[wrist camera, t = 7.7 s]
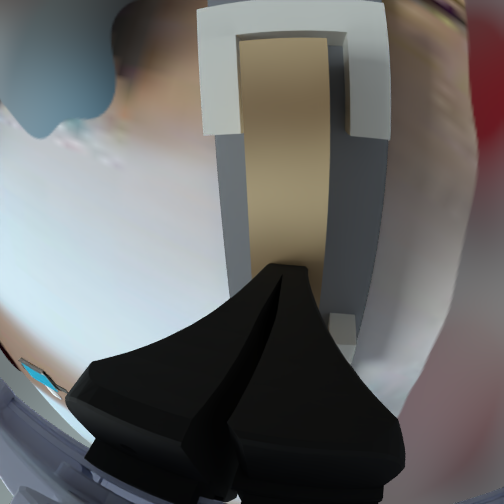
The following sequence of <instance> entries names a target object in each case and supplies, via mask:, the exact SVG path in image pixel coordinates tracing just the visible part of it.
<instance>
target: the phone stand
mask: <svg viewBox="0 0 504 504" xmlns="http://www.w3.org/2000/svg"><path fill="white" fill-rule="evenodd" d="M18 361H20V362H21V363H22V364H23V365H22V364H21V365H22V366H23V368H24V367H25V368H24V369H26V370H27V371H28V372H29V374H30V375H31V376H32V377H33V378H35V379H36V380H38V381H39V382H41V383H43V384H44V385H45V386H46V387H47V388H48V389H49V390H50V392H51V393H52V394H53V395H54V396H56V397H58V398H59V399H61V400H62V398H61V397H60V396H59V395H58V394H57V393H56V392H58V390H57V389H59V390H61V391H63V392H65V393H67V392H66V390H65V389H63V388H61V387H59V386H58V385H56V384H55V383H54V382H53V381H52V380H51V379H50V378H49V377H48V378H47V377H46V375H47V374H46V375H44V374H43V370H42V369H40V368H38V367H36V366H35V365H33V364H31V363H30V362H28V361H26V360H25V359H23V358H20V359H19V360H18ZM47 376H48V375H47ZM55 387H56V388H57V389H56V388H55ZM67 394H68V393H67Z"/></svg>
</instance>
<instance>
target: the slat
mask: <svg viewBox="0 0 504 504" xmlns="http://www.w3.org/2000/svg"><path fill="white" fill-rule="evenodd" d="M239 49H240V69H241V88H242V107H243V126H244V145H245V164H246V183H247V202H248V220H249V238H250V257H251V275H252V279H253V278H254V277H255V276H256V275H257V274H258V273H259V272H260V271H261V270H262V269H263V268H264V267H265V266H266V265H267V264H269V263H271V264H284V265H297V266H306V268H307V269H308V277H309V282H310V286H311V289H312V293H313V296H314V298H315V301H316V304H317V306H318V309H319V304H320V296H321V287H322V277H323V267H324V256H325V243H326V230H327V214H328V196H329V169H330V88H329V63H328V46H327V38H272V39H257V40H246V41H239Z"/></svg>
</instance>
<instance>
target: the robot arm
mask: <svg viewBox="0 0 504 504" xmlns="http://www.w3.org/2000/svg"><path fill="white" fill-rule="evenodd" d="M65 402H66V405H67V407H68V409H69V410H70V412H71V413H72V414H73V415H74V416H75V418H76V419H77V420H78V421H79V422H80V423H81V424H82V425H83V426H84V427H85V428H86V429H87V430H88V431H89V432H90V433H91V434H92V435H93V436H94V437H95V438H96V439H95V440H94V442H93V444H92V445H91V447H90V448H88V447H86V446H85V445H83V444H82V443H80V442H78V441H76V440H75V439H74V438H72V437H70V436H69V435H67V434H66V433H64V432H63V431H61V430H60V429H58V428H57V427H55V426H54V425H53V424H51V423H50V422H49V421H47V420H46V419H44V418H43V417H42V416H40V415H39V414H38V413H37V412H35V411H34V410H33V409H31V408H30V407H29V406H28V405H26V404H25V403H24V402H23V401H22V400H20V399H19V398H18V397H17V396H16V395H15V394H14V392H13V391H12V390H11V389H10V387H9V386H8V385H7V384H6V383H5V382H4V381H3V379H1V377H0V478H1V479H2V481H3V483H4V484H5V485H6V487H7V488H8V490H9V491H10V493H11V494H12V495H13V499H12V500H11V502H10V504H226V503H223V502H229V501H231V500H233V499H235V498H236V497H237V494H238V495H239V497H240V499H241V504H378V502H380V501H382V498H383V489H384V485H385V484H386V483H388V482H389V481H391V480H392V479H393V478H395V477H396V476H397V475H398V474H399V473H400V472H401V471H402V470H403V469H404V467H405V447H404V442H403V436H402V432H401V428H400V424H399V421H398V419H397V418H396V417H395V416H394V415H393V414H392V413H391V412H390V411H389V410H388V409H387V408H386V407H385V406H384V405H383V404H382V403H381V402H380V401H379V400H378V399H377V397H376V396H375V395H374V394H373V393H372V392H371V391H370V390H369V388H368V387H367V386H366V385H365V384H364V382H363V381H362V380H361V379H360V377H359V376H358V375H357V373H356V372H355V371H354V369H353V368H352V367H351V365H350V364H349V363H348V361H347V360H346V358H345V357H344V356H343V354H342V352H341V351H340V349H339V348H338V346H337V345H336V343H335V341H334V339H333V338H332V336H331V334H330V332H329V330H328V328H327V326H326V324H325V322H324V320H323V318H322V316H321V314H320V311H319V309H318V306H317V304H316V301H315V298H314V296H313V293H312V289H311V286H310V282H309V277H308V269H307V268H306V266H297V265H284V264H271V263H269V264H267V265H266V266H265V267H264V268H263V269H262V270H261V271H260V272H259V273H258V274H257V275H256V276H255V277H254V278H253V279H252V280H251V281H250V282H249V283H247V284H246V285H245V286H244V287H243V288H242V289H241V290H240V291H238V292H237V293H236V294H235V295H234V296H233V297H231V298H230V299H229V300H227V301H226V302H225V303H224V304H222V305H221V306H220V307H218V308H217V309H216V310H214V311H213V312H211V313H210V314H208V315H207V316H205V317H204V318H202V319H200V320H199V321H197V322H195V323H194V324H192V325H190V326H188V327H186V328H184V329H182V330H180V331H178V332H176V333H174V334H172V335H170V336H168V337H166V338H164V339H162V340H160V341H157V342H155V343H152V344H150V345H147V346H144V347H142V348H139V349H136V350H133V351H130V352H127V353H124V354H120V355H117V356H113V357H109V358H105V359H102V360H97V361H93V362H91V364H90V365H89V366H88V367H87V369H86V370H85V371H84V373H83V374H82V375H81V377H80V378H79V379H78V381H77V382H76V383H75V385H74V386H73V387H72V389H71V390H70V391H69V393H68V394H67V395H66V397H65ZM453 504H504V487H502V488H499V489H497V490H494V491H492V492H489V493H486V494H483V495H480V496H477V497H474V498H471V499H467V500H464V501H460V502H457V503H453Z"/></svg>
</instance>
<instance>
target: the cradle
mask: <svg viewBox="0 0 504 504" xmlns="http://www.w3.org/2000/svg"><path fill="white" fill-rule="evenodd" d="M197 33H198V56H199V76H200V93H201V108H202V122H203V135H204V136H208V135H215V145H216V158H217V171H218V183H219V194H220V205H221V216H222V227H223V237H224V247H225V257H226V267H227V276H228V285H229V294H230V298H231V297H233V296H234V295H235V294H236V293H237V292H238V291H240V290H241V289H242V288H243V287H244V286H245V285H246V284H247V283H249V282H250V281H251V280H252V275H251V257H250V238H249V220H248V202H247V183H246V164H245V145H244V126H243V107H242V88H241V69H240V49H239V41H246V40H257V39H272V38H327V46H328V63H329V88H330V169H329V196H328V214H327V230H326V243H325V256H324V267H323V277H322V287H321V296H320V304H319V311H320V314H321V316H322V318H323V320H324V322H325V324H326V326H327V328H328V330H329V332H330V334H331V336H332V338H333V339H334V341H335V343H336V345H337V346H338V348H339V349H340V351H341V352H342V354H343V356H344V357H345V358H346V360H347V361H348V363H349V364H350V365H351V363H352V360H353V356H354V353H355V349H356V346H357V342H356V341H357V337H358V333H359V330H360V326H361V322H362V318H363V314H364V309H365V305H366V301H367V296H368V292H369V287H370V282H371V277H372V272H373V267H374V262H375V256H376V250H377V244H378V238H379V231H380V225H381V217H382V209H383V201H384V192H385V182H386V170H387V156H388V140H390V136H391V74H390V55H389V42H388V32H387V23H386V15H385V8H384V3H382V1H381V0H208V7H206V8H202V9H197Z"/></svg>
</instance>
